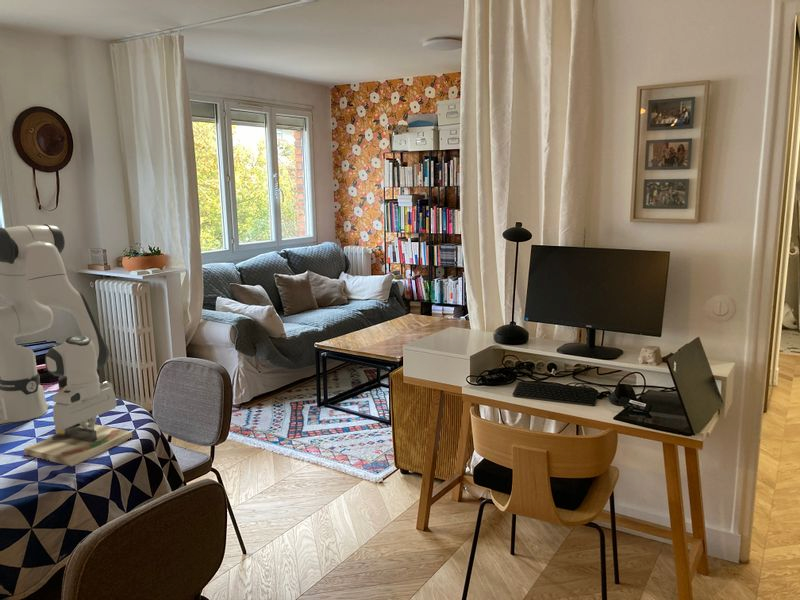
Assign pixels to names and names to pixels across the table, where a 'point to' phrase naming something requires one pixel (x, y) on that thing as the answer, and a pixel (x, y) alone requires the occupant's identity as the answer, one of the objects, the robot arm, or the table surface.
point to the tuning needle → (77, 433)
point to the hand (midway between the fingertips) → (89, 432)
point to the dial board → (77, 446)
